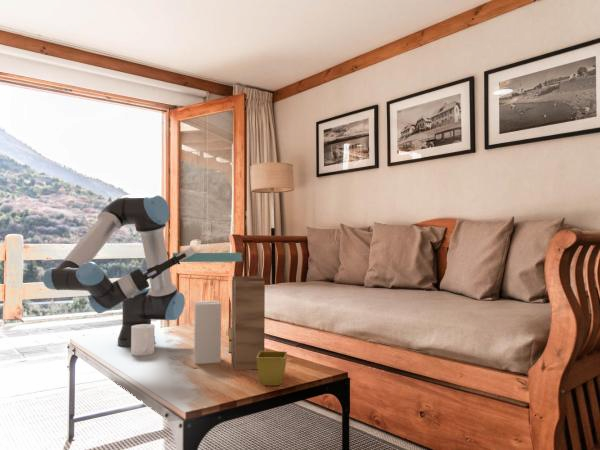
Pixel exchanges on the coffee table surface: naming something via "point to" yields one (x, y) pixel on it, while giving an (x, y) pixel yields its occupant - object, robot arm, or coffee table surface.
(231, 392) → the coffee table surface
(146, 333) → the mug
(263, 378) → the flower pot
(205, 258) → the block
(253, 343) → the stand
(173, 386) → the coffee table surface
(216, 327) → the tall white pillar
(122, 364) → the coffee table surface
